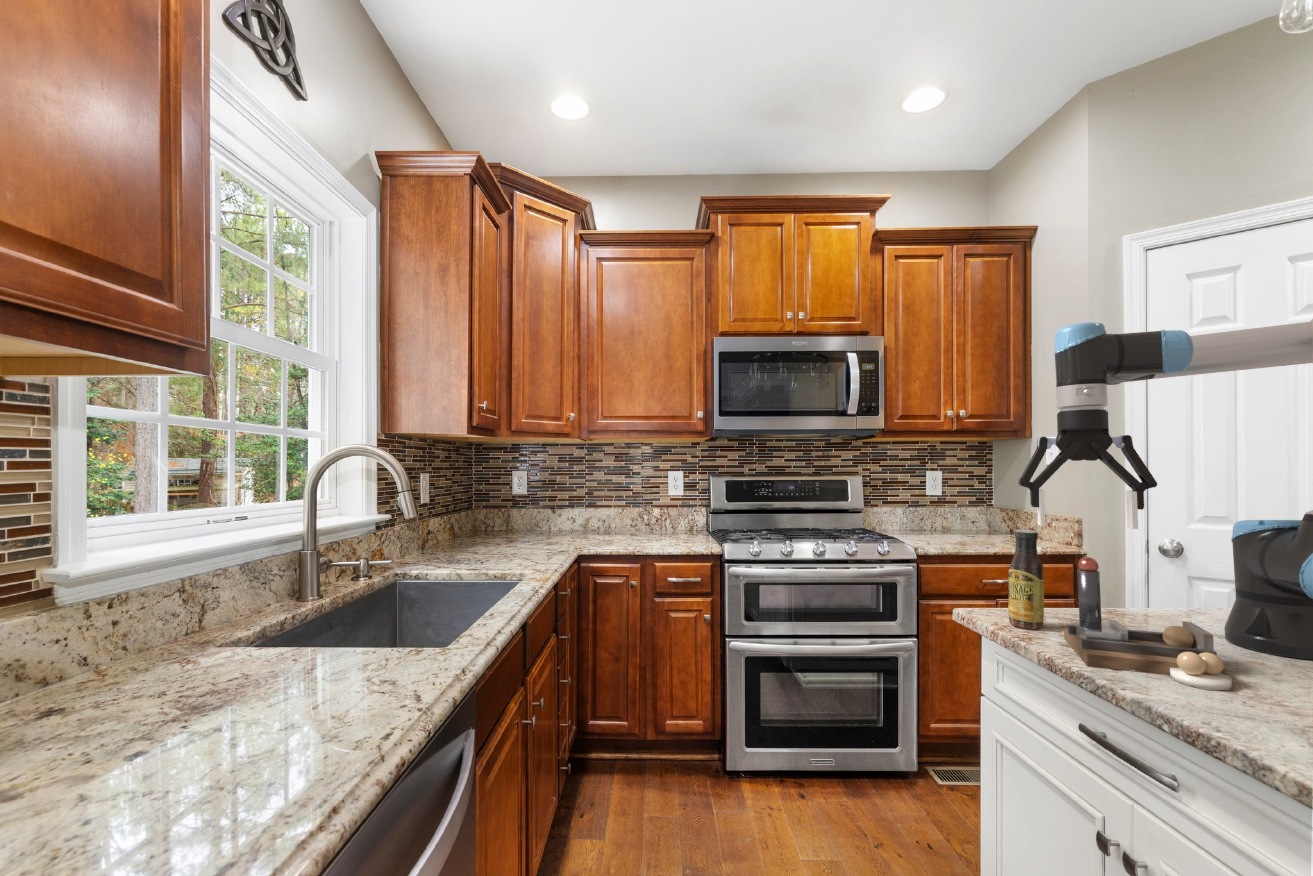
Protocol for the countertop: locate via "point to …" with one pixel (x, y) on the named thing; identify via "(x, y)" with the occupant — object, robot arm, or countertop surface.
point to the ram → (1094, 606)
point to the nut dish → (1202, 680)
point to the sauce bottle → (1026, 583)
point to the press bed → (1138, 650)
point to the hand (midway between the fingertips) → (1086, 527)
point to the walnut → (1178, 637)
